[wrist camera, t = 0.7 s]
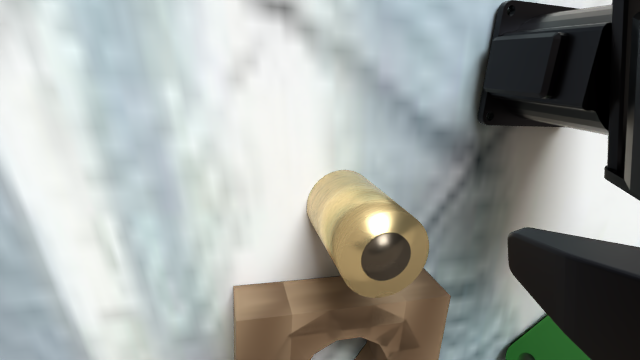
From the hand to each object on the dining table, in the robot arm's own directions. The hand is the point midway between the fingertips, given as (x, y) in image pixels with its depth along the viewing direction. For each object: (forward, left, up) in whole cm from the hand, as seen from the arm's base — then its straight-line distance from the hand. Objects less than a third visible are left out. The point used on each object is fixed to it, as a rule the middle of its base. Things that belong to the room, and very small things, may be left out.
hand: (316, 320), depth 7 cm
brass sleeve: (-5, +3, -12) cm, 13 cm away
